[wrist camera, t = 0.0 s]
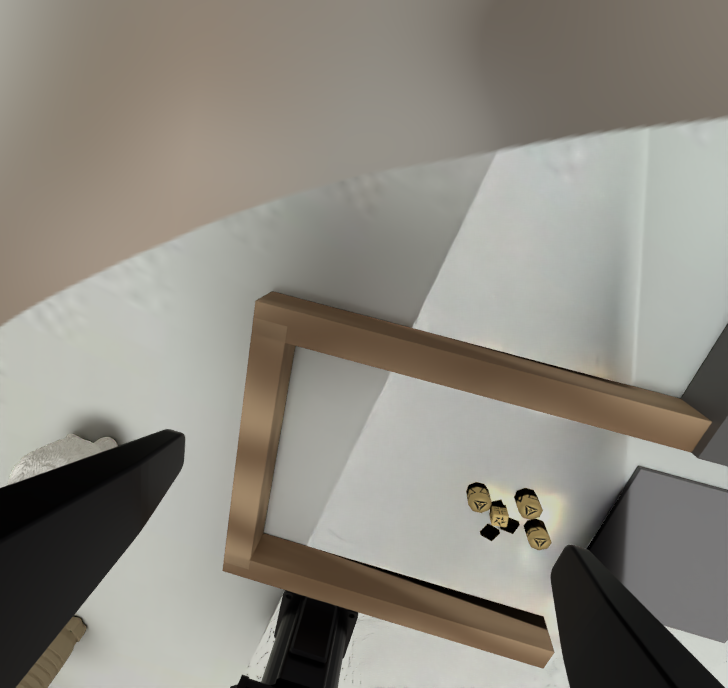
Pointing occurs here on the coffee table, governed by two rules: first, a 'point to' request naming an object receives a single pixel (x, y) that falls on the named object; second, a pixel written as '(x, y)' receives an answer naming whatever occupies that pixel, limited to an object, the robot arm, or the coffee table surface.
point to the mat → (671, 550)
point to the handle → (54, 656)
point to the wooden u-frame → (437, 365)
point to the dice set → (499, 515)
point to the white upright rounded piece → (58, 456)
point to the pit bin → (712, 402)
